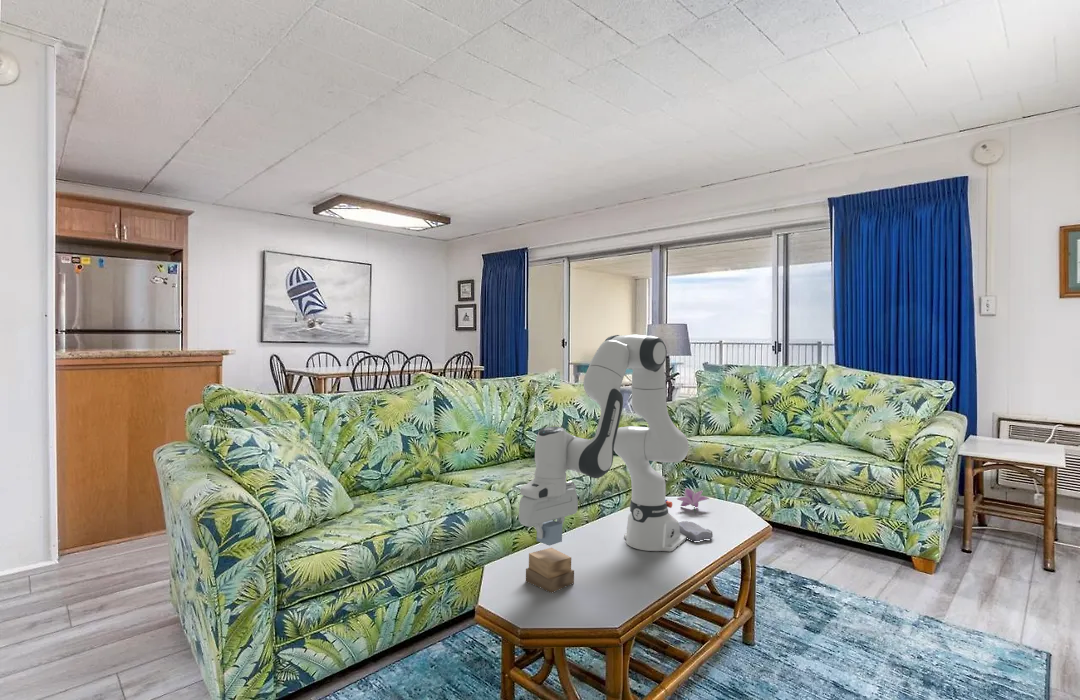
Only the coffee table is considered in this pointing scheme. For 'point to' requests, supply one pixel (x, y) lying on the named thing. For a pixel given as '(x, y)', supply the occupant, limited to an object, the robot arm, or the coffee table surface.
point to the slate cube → (551, 533)
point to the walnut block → (549, 580)
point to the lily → (692, 498)
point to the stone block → (694, 531)
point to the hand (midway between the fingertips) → (549, 535)
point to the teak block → (549, 562)
